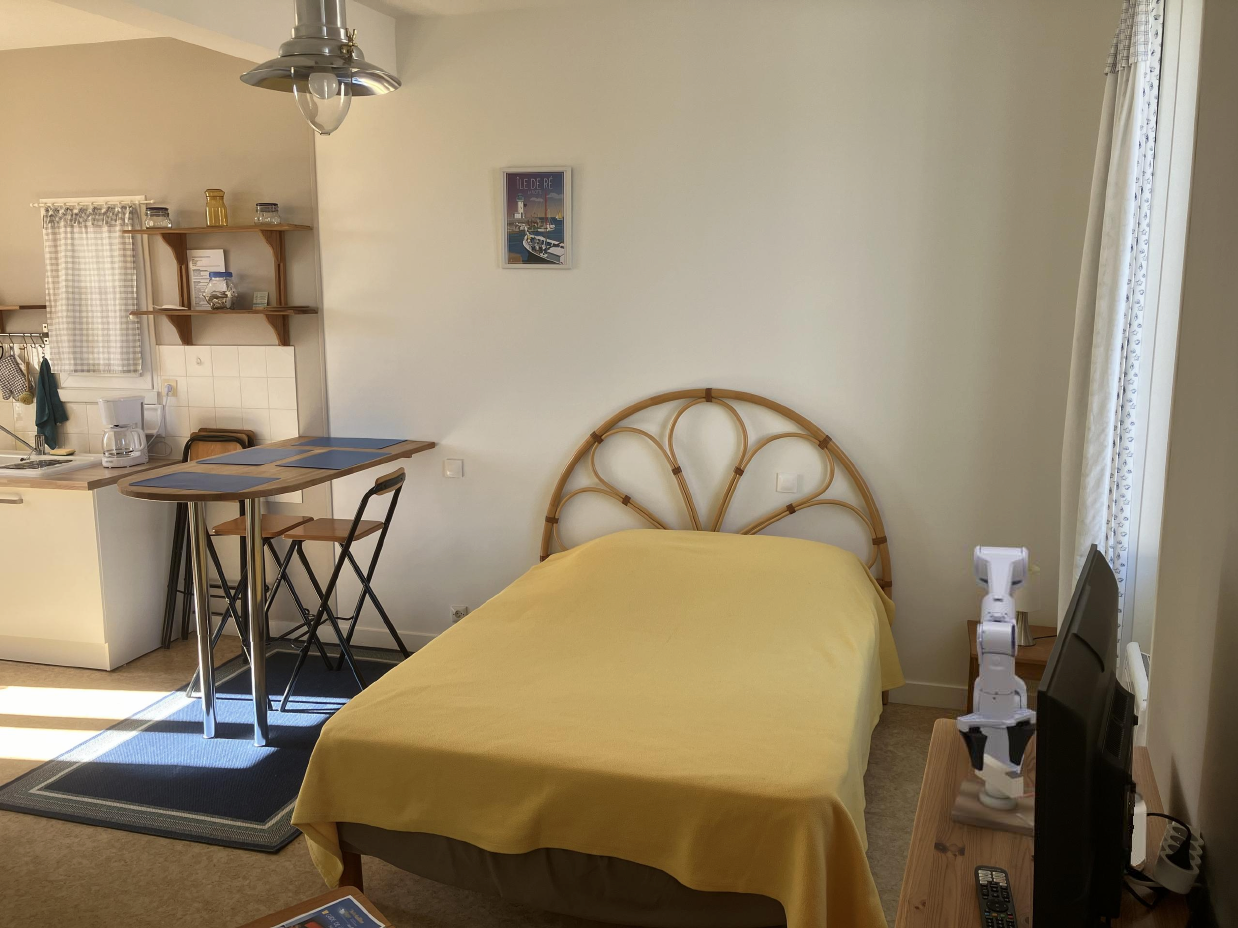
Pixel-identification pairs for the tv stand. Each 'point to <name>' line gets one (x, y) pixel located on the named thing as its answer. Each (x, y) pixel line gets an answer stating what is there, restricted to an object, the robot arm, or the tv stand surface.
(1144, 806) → the can
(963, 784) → the base
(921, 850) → the tv stand surface
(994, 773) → the lock handle
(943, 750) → the tv stand surface
